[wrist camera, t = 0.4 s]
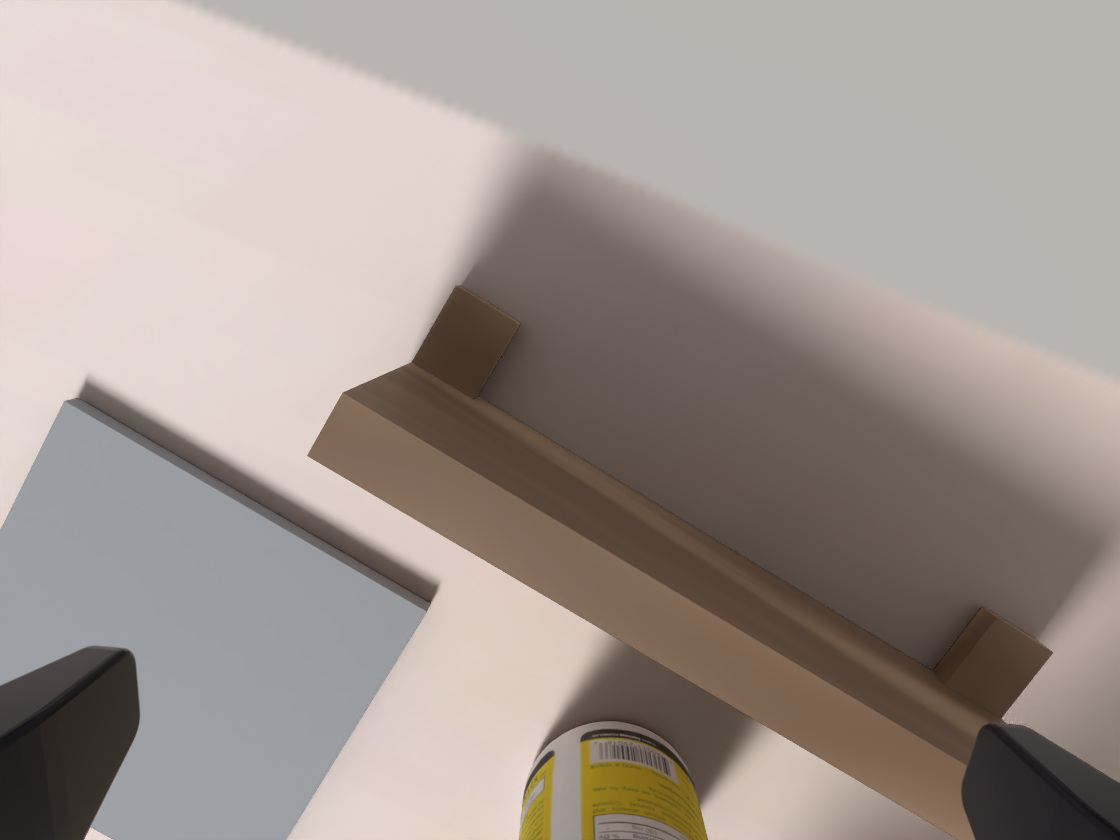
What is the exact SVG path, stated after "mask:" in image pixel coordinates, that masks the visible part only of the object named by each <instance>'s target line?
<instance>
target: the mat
mask: <svg viewBox="0 0 1120 840" xmlns="http://www.w3.org/2000/svg"><path fill="white" fill-rule="evenodd" d="M430 604H431V603H429V602H427V601H425V600H424V599H422V598H420V597H419V596H417V595H415V594H413V593H412V592H410V591H408V590H407V589H405V588H403V587H401V586H400V585H398V584H396V583H395V582H393V581H391V580H389V579H388V578H386V577H384V576H383V575H381V574H379V573H377V572H376V571H374V570H372V569H371V568H369V567H367V566H365V565H364V564H362V563H360V562H359V561H357V560H355V559H353V558H352V557H350V556H348V555H346V554H345V553H343V552H341V551H340V550H338V549H336V548H334V547H333V546H331V545H329V544H328V543H326V542H324V541H322V540H321V539H319V538H317V537H316V536H314V535H312V534H310V533H309V532H307V531H305V530H304V529H302V528H300V527H298V526H297V525H295V524H293V523H292V522H290V521H288V520H286V519H285V518H283V517H281V516H280V515H278V514H276V513H274V512H273V511H271V510H269V509H267V508H266V507H264V506H262V505H261V504H259V503H257V502H255V501H254V500H252V499H250V498H249V497H247V496H245V495H243V494H242V493H240V492H238V491H237V490H235V489H233V488H231V487H230V486H228V485H226V484H225V483H223V482H221V481H219V480H218V479H216V478H214V477H213V476H211V475H209V474H207V473H206V472H204V471H202V470H201V469H199V468H197V467H195V466H194V465H192V464H190V463H189V462H187V461H185V460H183V459H182V458H180V457H178V456H176V455H175V454H173V453H171V452H170V451H168V450H166V449H164V448H163V447H161V446H159V445H158V444H156V443H154V442H152V441H151V440H149V439H147V438H146V437H144V436H142V435H140V434H139V433H137V432H135V431H134V430H132V429H130V428H128V427H127V426H125V425H123V424H122V423H120V422H118V421H116V420H115V419H113V418H111V417H110V416H108V415H106V414H104V413H103V412H101V411H99V410H98V409H96V408H94V407H92V406H91V405H89V404H87V403H85V402H84V401H82V400H80V399H79V398H76V399H72V400H67V401H64V403H63V405H62V407H61V409H60V411H59V413H58V415H57V417H56V419H55V421H54V423H53V425H52V427H51V429H50V431H49V433H48V435H47V437H46V439H45V441H44V443H43V445H42V447H41V449H40V451H39V453H38V455H37V457H36V459H35V461H34V463H33V465H32V467H31V469H30V471H29V473H28V475H27V477H26V480H25V482H24V484H23V486H22V488H21V490H20V492H19V494H18V496H17V498H16V500H15V502H14V504H13V506H12V508H11V510H10V512H9V514H8V516H7V518H6V520H5V522H4V524H3V526H2V528H1V530H0V685H2V684H4V683H7V682H9V681H11V680H13V679H15V678H18V677H20V676H22V675H24V674H27V673H29V672H31V671H33V670H36V669H38V668H40V667H42V666H44V665H47V664H49V663H51V662H53V661H56V660H58V659H60V658H62V657H65V656H67V655H69V654H71V653H73V652H76V651H78V650H80V649H82V648H85V647H87V646H108V647H120V648H127V649H129V650H130V651H131V652H132V653H133V654H134V656H135V660H136V666H137V678H138V689H139V701H140V723H139V728H138V731H137V734H136V737H135V739H134V741H133V743H132V745H131V747H130V749H129V751H128V753H127V755H126V757H125V759H124V761H123V763H122V765H121V767H120V769H119V771H118V773H117V775H116V777H115V779H114V781H113V783H112V785H111V787H110V789H109V791H108V793H107V795H106V797H105V799H104V801H103V803H102V805H101V807H100V809H99V811H98V813H97V815H96V817H95V819H94V821H93V823H92V825H91V828H93V829H95V830H97V831H98V832H100V833H102V834H104V835H106V836H108V837H110V838H111V839H113V840H286V839H287V837H288V835H289V834H290V832H291V830H292V829H293V827H294V826H295V824H296V822H297V821H298V819H299V818H300V816H301V814H302V813H303V811H304V809H305V808H306V806H307V805H308V803H309V801H310V800H311V798H312V796H313V795H314V793H315V792H316V790H317V788H318V787H319V785H320V784H321V782H322V780H323V779H324V777H325V775H326V774H327V772H328V771H329V769H330V767H331V766H332V764H333V763H334V761H335V759H336V758H337V756H338V754H339V753H340V751H341V750H342V748H343V746H344V745H345V743H346V741H347V740H348V738H349V737H350V735H351V733H352V732H353V730H354V729H355V727H356V725H357V724H358V722H359V720H360V719H361V717H362V716H363V714H364V712H365V711H366V709H367V708H368V706H369V704H370V703H371V701H372V699H373V698H374V696H375V695H376V693H377V691H378V690H379V688H380V687H381V685H382V683H383V682H384V680H385V678H386V677H387V675H388V674H389V672H390V670H391V669H392V667H393V665H394V664H395V662H396V661H397V659H398V657H399V656H400V654H401V653H402V651H403V649H404V648H405V646H406V644H407V643H408V641H409V640H410V638H411V636H412V635H413V633H414V632H415V630H416V628H417V627H418V625H419V623H420V622H421V620H422V619H423V617H424V615H425V614H426V612H427V610H428V608H429V606H430Z"/></svg>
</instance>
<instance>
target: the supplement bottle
mask: <svg viewBox="0 0 1120 840" xmlns="http://www.w3.org/2000/svg"><path fill="white" fill-rule="evenodd" d="M519 840H708V838H707V834H706V830H705V826H704V821H703V817H702V813H701V809H700V805H699V801H698V797H697V794H696V790H695V786H694V783H693V780H692V778H691V775H690V773H689V770H688V768H687V766H686V765H685V763H684V762H683V760H682V759H681V757H680V756H679V754H678V753H677V752H676V751H675V749H674V748H673V747H672V746H671V745H670V744H669V743H667V742H666V741H665V740H664V739H662V738H661V737H659V736H658V735H656V734H655V733H653V732H651V731H649V730H647V729H645V728H642V727H640V726H637V725H633V724H629V723H624V722H618V721H603V722H594V723H589V724H585V725H582V726H579V727H576V728H574V729H572V730H569V731H567V732H566V733H564V734H562V735H561V736H559V737H558V738H556V739H555V740H554V741H552V742H551V743H550V744H549V745H548V746H547V747H546V748H545V749H544V750H543V751H542V752H541V754H540V755H539V756H538V758H537V759H536V761H535V762H534V764H533V766H532V768H531V770H530V772H529V775H528V778H527V781H526V785H525V791H524V797H523V804H522V813H521V823H520V835H519Z"/></svg>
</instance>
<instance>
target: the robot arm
mask: <svg viewBox="0 0 1120 840" xmlns="http://www.w3.org/2000/svg"><path fill="white" fill-rule="evenodd" d="M139 723H140V701H139V689H138V678H137V666H136V660H135V656H134V654H133V653H132V652H131V651H130V650H129V649H127V648H120V647H108V646H87V647H85V648H82V649H80V650H78V651H76V652H73V653H71V654H69V655H67V656H65V657H62V658H60V659H58V660H56V661H53V662H51V663H49V664H47V665H44V666H42V667H40V668H38V669H36V670H33V671H31V672H29V673H27V674H24V675H22V676H20V677H18V678H15V679H13V680H11V681H9V682H7V683H4V684H2V685H0V840H84V839H85V837H86V835H87V833H88V831H89V829H90V827H91V825H92V823H93V821H94V819H95V817H96V815H97V813H98V811H99V809H100V807H101V805H102V803H103V801H104V799H105V797H106V795H107V793H108V791H109V789H110V787H111V785H112V783H113V781H114V779H115V777H116V775H117V773H118V771H119V769H120V767H121V765H122V763H123V761H124V759H125V757H126V755H127V753H128V751H129V749H130V747H131V745H132V743H133V741H134V739H135V737H136V734H137V731H138V728H139ZM961 799H962V804H963V808H964V811H965V814H966V816H967V819H968V822H969V824H970V827H971V830H972V833H973V835H974V838H975V840H1120V783H1118V782H1117V781H1115V780H1113V779H1112V778H1110V777H1109V776H1107V775H1105V774H1104V773H1102V772H1100V771H1099V770H1097V769H1095V768H1094V767H1092V766H1091V765H1089V764H1087V763H1086V762H1084V761H1082V760H1081V759H1079V758H1078V757H1076V756H1074V755H1073V754H1071V753H1069V752H1068V751H1066V750H1065V749H1063V748H1061V747H1060V746H1058V745H1056V744H1055V743H1053V742H1052V741H1050V740H1048V739H1047V738H1045V737H1043V736H1042V735H1040V734H1038V733H1037V732H1035V731H1034V730H1032V729H1030V728H1028V727H1026V726H1022V725H1015V724H1003V723H988V724H985V725H983V726H982V727H981V729H980V730H979V732H978V734H977V737H976V740H975V743H974V746H973V749H972V752H971V755H970V758H969V761H968V764H967V767H966V770H965V774H964V777H963V780H962V785H961Z"/></svg>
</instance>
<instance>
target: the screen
mask: <svg viewBox="0 0 1120 840" xmlns="http://www.w3.org/2000/svg"><path fill="white" fill-rule="evenodd" d="M520 324H521V323H520V322H519V321H517V320H516V319H514V318H512V317H511V316H509V315H507V314H506V313H504V312H502V311H501V310H499V309H498V308H496V307H494V306H493V305H491V304H489V303H488V302H486V301H485V300H483V299H481V298H480V297H478V296H476V295H475V294H473V293H472V292H470V291H468V290H467V289H465V288H463V287H462V286H455V288H454V290H453V292H452V293H451V295H450V297H449V299H448V300H447V302H446V304H445V306H444V307H443V309H442V311H441V313H440V314H439V316H438V318H437V319H436V321H435V323H434V325H433V326H432V328H431V330H430V332H429V333H428V335H427V337H426V339H425V340H424V342H423V344H422V345H421V347H420V349H419V351H418V352H417V354H416V356H415V358H414V359H413V361H412V362H411V363H409V364H407V365H405V366H402V367H400V368H398V369H395V370H393V371H391V372H389V373H386V374H384V375H382V376H380V377H377V378H375V379H373V380H370V381H368V382H366V383H364V384H361V385H359V386H357V387H355V388H352V389H350V390H348V391H345V392H343V393H342V395H341V397H340V398H339V400H338V402H337V404H336V405H335V407H334V409H333V411H332V413H331V414H330V416H329V418H328V420H327V421H326V423H325V425H324V427H323V429H322V430H321V432H320V434H319V436H318V437H317V439H316V441H315V443H314V444H313V446H312V448H311V450H310V452H309V453H308V455H307V456H308V457H310V458H312V459H313V460H315V461H317V462H319V463H320V464H322V465H324V466H325V467H327V468H329V469H330V470H332V471H334V472H336V473H337V474H339V475H341V476H342V477H344V478H346V479H347V480H349V481H351V482H352V483H354V484H356V485H358V486H359V487H361V488H363V489H364V490H366V491H368V492H369V493H371V494H373V495H375V496H376V497H378V498H380V499H381V500H383V501H385V502H386V503H388V504H390V505H391V506H393V507H395V508H397V509H398V510H400V511H402V512H403V513H405V514H407V515H408V516H410V517H412V518H414V519H415V520H417V521H419V522H420V523H422V524H424V525H425V526H427V527H429V528H430V529H432V530H434V531H436V532H437V533H439V534H441V535H442V536H444V537H446V538H447V539H449V540H451V541H453V542H454V543H456V544H458V545H459V546H461V547H463V548H464V549H466V550H468V551H470V552H471V553H473V554H475V555H476V556H478V557H480V558H481V559H483V560H485V561H486V562H488V563H490V564H492V565H493V566H495V567H497V568H498V569H500V570H502V571H503V572H505V573H507V574H509V575H510V576H512V577H514V578H515V579H517V580H519V581H520V582H522V583H524V584H525V585H527V586H529V587H531V588H532V589H534V590H536V591H537V592H539V593H541V594H542V595H544V596H546V597H548V598H549V599H551V600H553V601H554V602H556V603H558V604H559V605H561V606H563V607H564V608H566V609H568V610H570V611H571V612H573V613H575V614H576V615H578V616H580V617H581V618H583V619H585V620H587V621H588V622H590V623H592V624H593V625H595V626H597V627H598V628H600V629H602V630H603V631H605V632H607V633H609V634H610V635H612V636H614V637H615V638H617V639H619V640H620V641H622V642H624V643H626V644H627V645H629V646H631V647H632V648H634V649H636V650H637V651H639V652H641V653H643V654H644V655H646V656H648V657H649V658H651V659H653V660H654V661H656V662H658V663H659V664H661V665H663V666H665V667H666V668H668V669H670V670H671V671H673V672H675V673H676V674H678V675H680V676H682V677H683V678H685V679H687V680H688V681H690V682H692V683H693V684H695V685H697V686H698V687H700V688H702V689H704V690H705V691H707V692H709V693H710V694H712V695H714V696H715V697H717V698H719V699H721V700H722V701H724V702H726V703H727V704H729V705H731V706H732V707H734V708H736V709H737V710H739V711H741V712H743V713H744V714H746V715H748V716H749V717H751V718H753V719H754V720H756V721H758V722H760V723H761V724H763V725H765V726H766V727H768V728H770V729H771V730H773V731H775V732H776V733H778V734H780V735H782V736H783V737H785V738H787V739H788V740H790V741H792V742H793V743H795V744H797V745H799V746H800V747H802V748H804V749H805V750H807V751H809V752H810V753H812V754H814V755H816V756H817V757H819V758H821V759H822V760H824V761H826V762H827V763H829V764H831V765H832V766H834V767H836V768H838V769H839V770H841V771H843V772H844V773H846V774H848V775H849V776H851V777H853V778H855V779H856V780H858V781H860V782H861V783H863V784H865V785H866V786H868V787H870V788H871V789H873V790H875V791H877V792H878V793H880V794H882V795H883V796H885V797H887V798H888V799H890V800H892V801H894V802H895V803H897V804H899V805H900V806H902V807H904V808H905V809H907V810H909V811H910V812H912V813H914V814H916V815H917V816H919V817H921V818H922V819H924V820H926V821H927V822H929V823H931V824H933V825H934V826H936V827H938V828H939V829H941V830H943V831H944V832H946V833H948V834H949V835H951V836H953V837H955V838H956V839H958V840H975V838H974V835H973V833H972V830H971V827H970V824H969V822H968V819H967V816H966V814H965V811H964V808H963V804H962V799H961V785H962V780H963V777H964V774H965V770H966V767H967V764H968V761H969V758H970V755H971V752H972V749H973V746H974V743H975V740H976V737H977V734H978V732H979V730H980V729H981V727H982V726H983V725H985V724H988V723H1003V724H1006V723H1005V722H1004V721H1003V720H1002V719H1001V718H1002V717H1003V715H1004V714H1005V713H1006V712H1007V710H1008V709H1009V708H1010V707H1011V705H1012V704H1013V703H1014V701H1015V700H1016V699H1017V698H1018V696H1019V695H1020V694H1021V693H1022V691H1023V690H1024V689H1025V688H1026V686H1027V685H1028V684H1029V683H1030V681H1031V680H1032V679H1033V677H1034V676H1035V675H1036V674H1037V672H1038V671H1039V670H1040V669H1041V667H1042V666H1043V665H1044V664H1045V662H1046V661H1047V660H1048V659H1049V657H1050V656H1051V655H1052V653H1053V652H1052V651H1050V650H1049V649H1048V648H1047V647H1045V646H1044V645H1043V644H1041V643H1040V642H1039V641H1038V640H1036V639H1034V638H1033V637H1031V636H1030V635H1028V634H1026V633H1025V632H1023V631H1021V630H1020V629H1018V628H1017V627H1015V626H1013V625H1012V624H1010V623H1008V622H1007V621H1005V620H1004V619H1002V618H1000V617H999V616H997V615H995V614H994V613H992V612H991V611H989V610H987V609H986V608H984V607H981V609H980V610H979V611H978V613H977V614H976V615H975V617H974V618H973V619H972V621H971V622H970V623H969V625H968V626H967V627H966V628H965V630H964V631H963V632H962V634H961V635H960V636H959V638H958V639H957V640H956V642H955V643H954V644H953V645H952V647H951V648H950V649H949V651H948V652H947V653H946V655H945V656H944V657H943V659H942V660H941V661H940V662H939V664H938V665H937V666H936V668H935V669H934V670H933V671H932V670H930V669H928V668H927V667H925V666H923V665H922V664H920V663H918V662H917V661H915V660H914V659H912V658H910V657H909V656H907V655H905V654H904V653H902V652H900V651H899V650H897V649H895V648H894V647H892V646H890V645H889V644H887V643H885V642H884V641H882V640H880V639H879V638H877V637H876V636H874V635H872V634H871V633H869V632H867V631H866V630H864V629H862V628H861V627H859V626H857V625H856V624H854V623H852V622H851V621H849V620H847V619H846V618H844V617H842V616H841V615H839V614H838V613H836V612H834V611H833V610H831V609H829V608H828V607H826V606H824V605H823V604H821V603H819V602H818V601H816V600H814V599H813V598H811V597H809V596H808V595H806V594H804V593H803V592H801V591H800V590H798V589H796V588H795V587H793V586H791V585H790V584H788V583H786V582H785V581H783V580H781V579H780V578H778V577H776V576H775V575H773V574H771V573H770V572H768V571H766V570H765V569H763V568H761V567H760V566H758V565H757V564H755V563H753V562H752V561H750V560H748V559H747V558H745V557H743V556H742V555H740V554H738V553H737V552H735V551H733V550H732V549H730V548H728V547H727V546H725V545H723V544H722V543H720V542H719V541H717V540H715V539H714V538H712V537H710V536H709V535H707V534H705V533H704V532H702V531H700V530H699V529H697V528H695V527H694V526H692V525H690V524H689V523H687V522H685V521H684V520H682V519H681V518H679V517H677V516H676V515H674V514H672V513H671V512H669V511H667V510H666V509H664V508H662V507H661V506H659V505H657V504H656V503H654V502H652V501H651V500H649V499H647V498H646V497H644V496H643V495H641V494H639V493H638V492H636V491H634V490H633V489H631V488H629V487H628V486H626V485H624V484H623V483H621V482H619V481H618V480H616V479H614V478H613V477H611V476H609V475H608V474H606V473H604V472H603V471H601V470H600V469H598V468H596V467H595V466H593V465H591V464H590V463H588V462H586V461H585V460H583V459H581V458H580V457H578V456H576V455H575V454H573V453H571V452H570V451H568V450H566V449H565V448H563V447H562V446H560V445H558V444H557V443H555V442H553V441H552V440H550V439H548V438H547V437H545V436H543V435H542V434H540V433H538V432H537V431H535V430H533V429H532V428H530V427H528V426H527V425H525V424H524V423H522V422H520V421H519V420H517V419H515V418H514V417H512V416H510V415H509V414H507V413H505V412H504V411H502V410H500V409H499V408H497V407H495V406H494V405H492V404H490V403H489V402H487V401H486V400H484V399H482V398H481V397H479V396H478V395H479V393H480V391H481V390H482V388H483V386H484V385H485V383H486V381H487V380H488V378H489V376H490V375H491V373H492V371H493V369H494V368H495V366H496V364H497V363H498V361H499V359H500V358H501V356H502V354H503V353H504V351H505V349H506V348H507V346H508V344H509V343H510V341H511V339H512V338H513V336H514V334H515V333H516V331H517V329H518V328H519V326H520Z"/></svg>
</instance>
